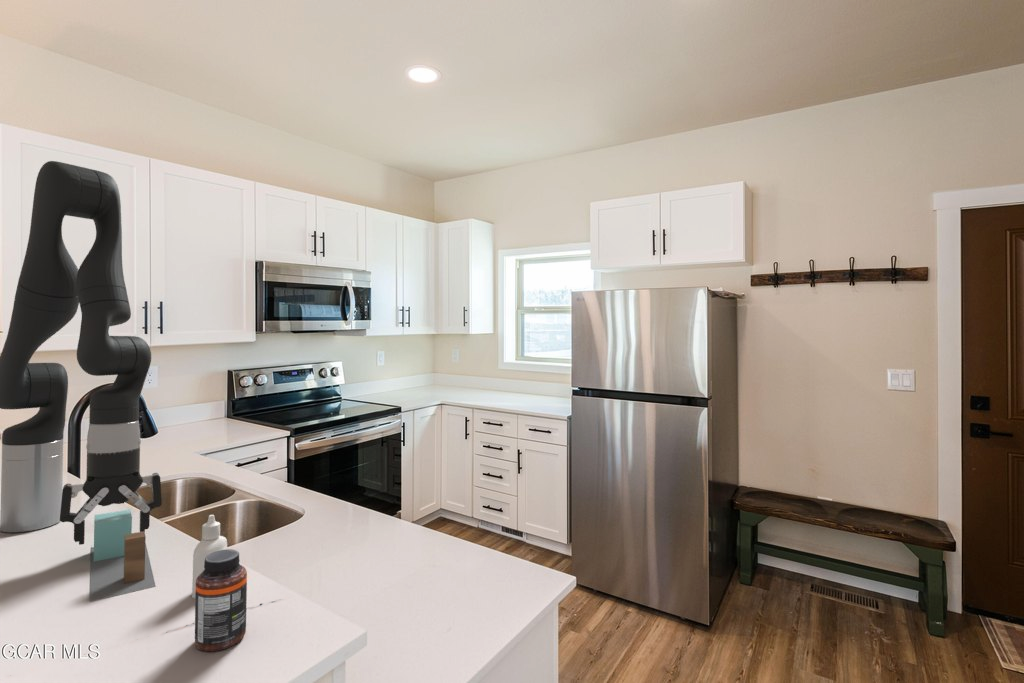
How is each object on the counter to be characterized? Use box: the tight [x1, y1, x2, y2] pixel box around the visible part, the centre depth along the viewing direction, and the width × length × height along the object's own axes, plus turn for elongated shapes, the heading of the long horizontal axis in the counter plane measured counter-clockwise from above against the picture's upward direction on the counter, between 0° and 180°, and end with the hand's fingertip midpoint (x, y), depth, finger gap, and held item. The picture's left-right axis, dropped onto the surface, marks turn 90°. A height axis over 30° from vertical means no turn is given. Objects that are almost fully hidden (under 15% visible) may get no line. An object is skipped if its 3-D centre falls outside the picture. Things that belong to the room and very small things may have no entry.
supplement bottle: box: [194, 548, 248, 652], centre depth 67 cm, size 6×6×11 cm
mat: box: [89, 541, 157, 603], centre depth 87 cm, size 24×8×1 cm, turn 39°
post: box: [124, 531, 147, 584], centre depth 83 cm, size 3×3×7 cm
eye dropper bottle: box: [191, 514, 228, 599], centre depth 80 cm, size 4×6×12 cm
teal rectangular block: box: [93, 509, 133, 562], centre depth 92 cm, size 5×5×7 cm
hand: (112, 537), depth 91 cm, fingers open, 8 cm apart
